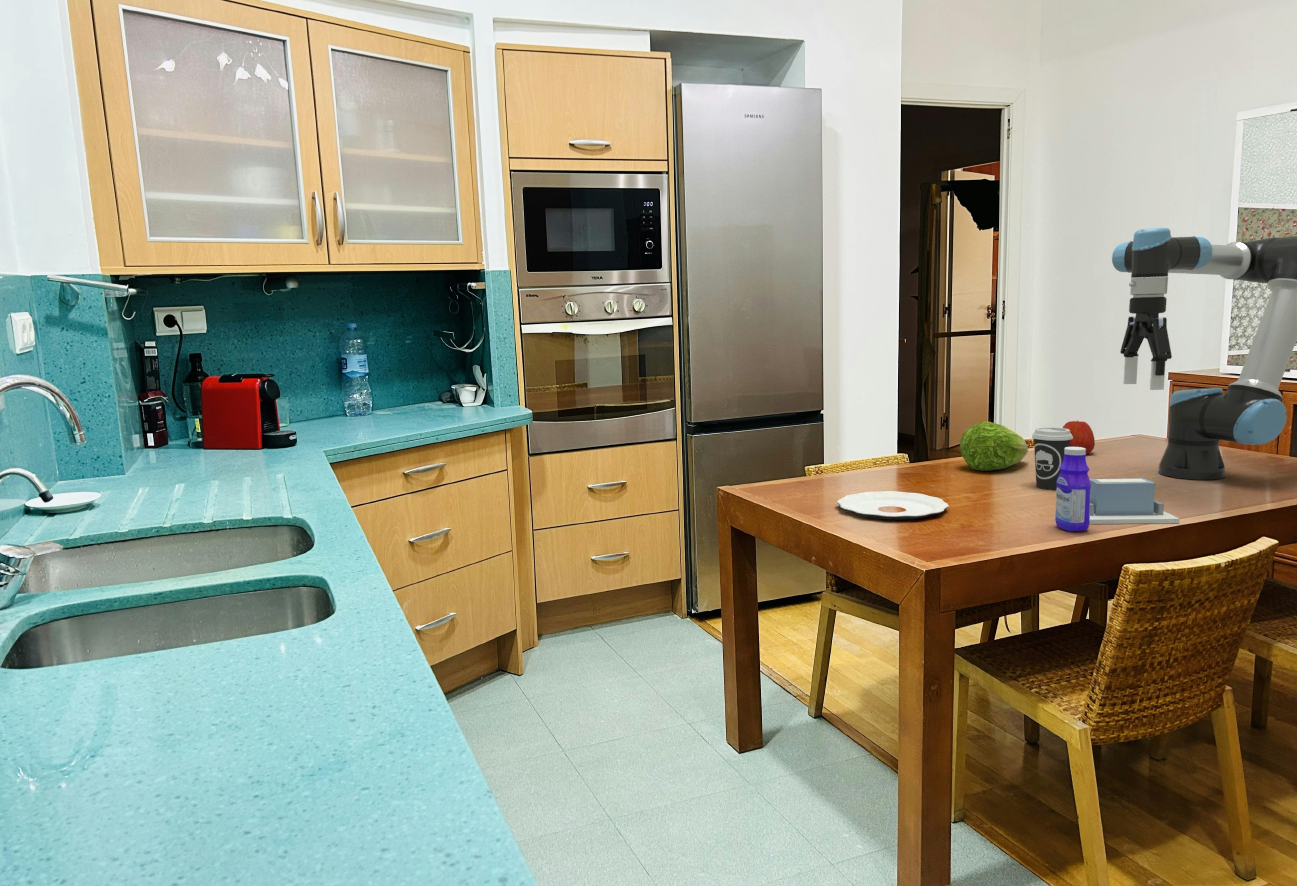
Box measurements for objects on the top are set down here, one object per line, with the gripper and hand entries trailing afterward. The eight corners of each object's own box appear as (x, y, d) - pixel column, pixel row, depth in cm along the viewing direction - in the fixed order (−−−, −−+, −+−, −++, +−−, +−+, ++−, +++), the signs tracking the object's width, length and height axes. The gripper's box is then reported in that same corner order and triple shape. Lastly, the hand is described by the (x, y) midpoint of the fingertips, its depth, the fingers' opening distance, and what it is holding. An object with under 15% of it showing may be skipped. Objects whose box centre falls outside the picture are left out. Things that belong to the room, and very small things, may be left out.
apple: (1062, 456, 266) (1064, 422, 264) (1052, 450, 276) (1054, 417, 274) (1098, 456, 264) (1100, 422, 262) (1087, 450, 274) (1089, 417, 272)
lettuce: (1055, 443, 251) (1017, 413, 261) (1005, 441, 237) (967, 410, 247) (1027, 482, 258) (991, 452, 268) (977, 483, 244) (941, 451, 254)
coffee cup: (1075, 491, 220) (1077, 432, 218) (1034, 490, 222) (1036, 432, 220) (1065, 483, 230) (1067, 426, 227) (1026, 483, 231) (1028, 426, 229)
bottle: (1049, 525, 190) (1052, 445, 187) (1074, 523, 190) (1078, 444, 187) (1068, 533, 183) (1072, 451, 180) (1094, 532, 183) (1098, 450, 180)
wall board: (1150, 508, 201) (1151, 494, 200) (1179, 523, 188) (1180, 507, 187) (1064, 509, 202) (1064, 495, 202) (1087, 524, 189) (1087, 508, 189)
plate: (931, 528, 191) (931, 520, 191) (822, 516, 204) (822, 508, 204) (958, 504, 212) (958, 496, 212) (858, 495, 225) (858, 487, 225)
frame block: (1096, 514, 193) (1097, 483, 192) (1087, 509, 198) (1088, 478, 197) (1153, 514, 192) (1155, 482, 191) (1142, 509, 197) (1144, 477, 196)
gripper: (1108, 296, 218) (1104, 382, 221) (1157, 296, 193) (1151, 392, 196) (1140, 295, 217) (1135, 381, 220) (1193, 295, 192) (1186, 391, 196)
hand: (1142, 386), depth 208 cm, fingers open, 13 cm apart
